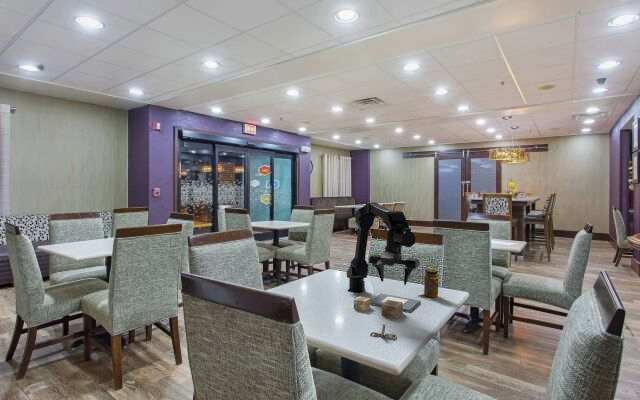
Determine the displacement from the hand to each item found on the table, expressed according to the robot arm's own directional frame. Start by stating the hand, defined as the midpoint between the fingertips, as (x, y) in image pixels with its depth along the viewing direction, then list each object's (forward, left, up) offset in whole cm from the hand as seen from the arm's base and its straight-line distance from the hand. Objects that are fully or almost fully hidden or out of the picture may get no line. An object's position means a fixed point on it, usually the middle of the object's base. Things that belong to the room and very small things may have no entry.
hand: (393, 283), depth 136 cm
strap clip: (+5, -21, -13) cm, 25 cm away
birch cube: (-13, 0, -12) cm, 18 cm away
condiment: (+6, +31, -13) cm, 34 cm away
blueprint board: (-4, +13, -12) cm, 18 cm away
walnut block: (0, 0, -12) cm, 12 cm away
